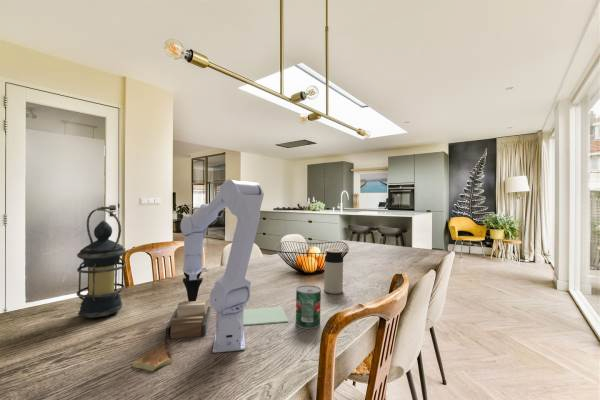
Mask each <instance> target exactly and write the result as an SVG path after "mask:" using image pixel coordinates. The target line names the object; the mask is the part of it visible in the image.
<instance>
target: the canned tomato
mask: <svg viewBox="0 0 600 400" xmlns="http://www.w3.org/2000/svg"><path fill="white" fill-rule="evenodd" d="M295 290H296V291H295V293H296V294H295V296H296V297H295V325H296V326H297V327H298V328H301V329H305V330H313V329H316V328H319V327H320V325H321V305H322V304H321V303H322V301H321V299H322V298H321V296H322V289H321V287H319V286H316V285H309V284H308V285H307V284H306V285H305V284H304V285H299V286H297V287H296V289H295Z"/></svg>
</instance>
